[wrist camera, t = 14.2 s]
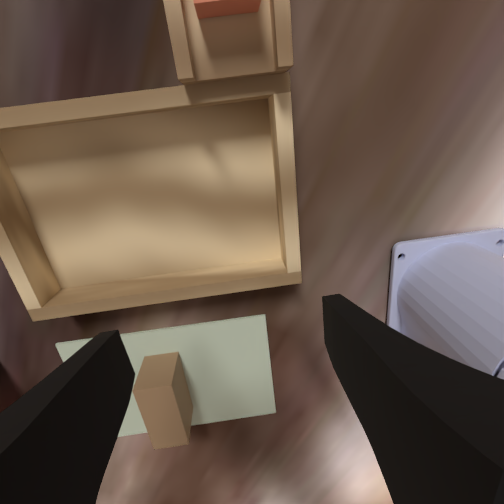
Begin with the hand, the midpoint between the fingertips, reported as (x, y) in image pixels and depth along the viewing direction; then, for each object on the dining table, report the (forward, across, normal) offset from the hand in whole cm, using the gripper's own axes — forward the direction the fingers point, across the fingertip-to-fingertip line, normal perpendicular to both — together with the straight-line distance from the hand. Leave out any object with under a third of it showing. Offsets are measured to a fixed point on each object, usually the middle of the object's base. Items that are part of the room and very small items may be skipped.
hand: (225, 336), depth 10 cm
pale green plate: (+11, +6, +11) cm, 17 cm away
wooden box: (+10, +4, -3) cm, 11 cm away
